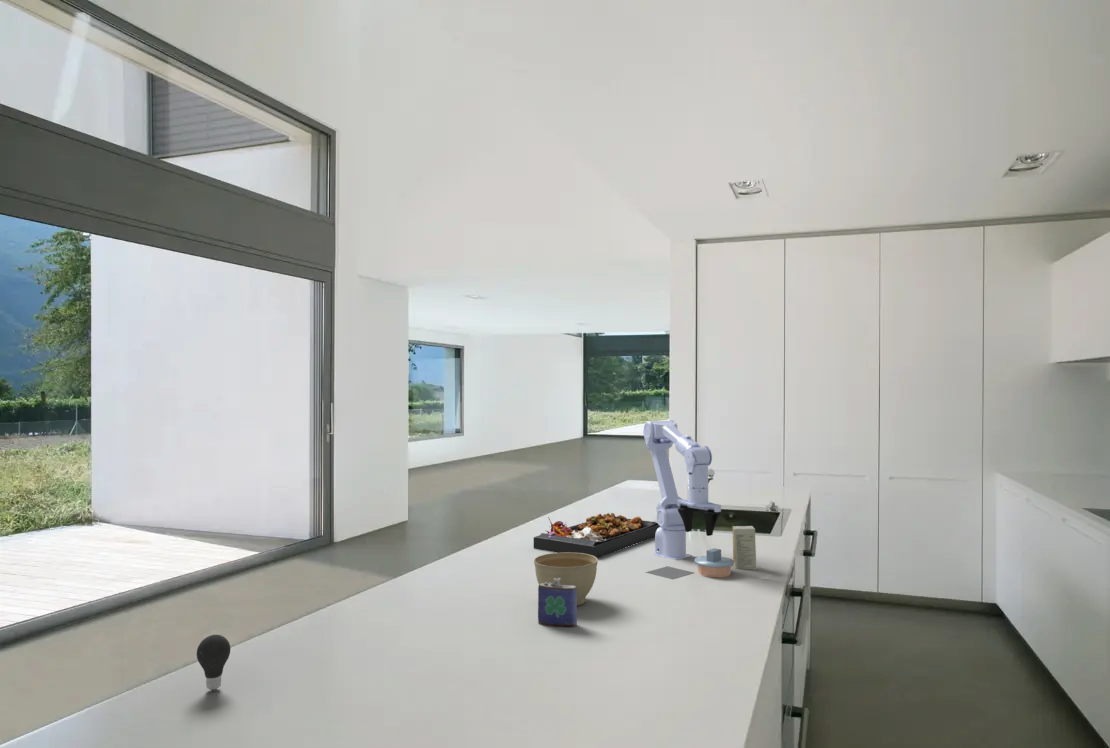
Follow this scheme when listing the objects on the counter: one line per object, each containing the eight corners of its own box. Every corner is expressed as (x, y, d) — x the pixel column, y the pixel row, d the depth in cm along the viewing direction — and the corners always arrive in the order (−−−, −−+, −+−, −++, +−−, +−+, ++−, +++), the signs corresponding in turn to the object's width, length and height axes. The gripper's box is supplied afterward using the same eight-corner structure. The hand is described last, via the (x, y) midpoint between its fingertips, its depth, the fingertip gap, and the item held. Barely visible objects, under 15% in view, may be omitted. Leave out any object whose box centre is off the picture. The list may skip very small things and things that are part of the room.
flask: (578, 624, 168) (577, 577, 168) (574, 628, 165) (574, 581, 166) (539, 620, 171) (539, 575, 171) (536, 625, 168) (535, 578, 168)
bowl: (692, 574, 211) (692, 562, 211) (710, 568, 217) (710, 556, 217) (718, 580, 204) (718, 568, 204) (736, 574, 210) (736, 562, 210)
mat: (645, 573, 211) (645, 572, 211) (667, 567, 218) (667, 566, 218) (672, 580, 204) (672, 579, 204) (694, 574, 211) (694, 572, 211)
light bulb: (203, 684, 136) (203, 630, 136) (235, 683, 136) (234, 629, 136) (191, 697, 130) (191, 641, 130) (224, 696, 131) (223, 640, 131)
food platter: (594, 560, 229) (594, 528, 229) (533, 550, 244) (533, 519, 244) (663, 535, 265) (663, 507, 265) (606, 527, 280) (606, 500, 280)
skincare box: (754, 566, 219) (753, 525, 219) (756, 570, 214) (756, 528, 215) (732, 566, 219) (731, 525, 219) (734, 569, 215) (734, 528, 215)
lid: (686, 562, 211) (686, 549, 211) (709, 555, 218) (709, 543, 218) (718, 569, 202) (718, 556, 203) (741, 562, 210) (741, 550, 210)
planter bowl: (607, 597, 189) (606, 555, 189) (583, 615, 174) (582, 569, 174) (550, 589, 196) (550, 549, 196) (523, 607, 181) (522, 563, 181)
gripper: (670, 486, 220) (671, 531, 220) (710, 491, 209) (711, 539, 209) (685, 484, 224) (685, 528, 224) (725, 488, 214) (725, 535, 214)
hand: (698, 533), depth 217 cm, fingers open, 7 cm apart
